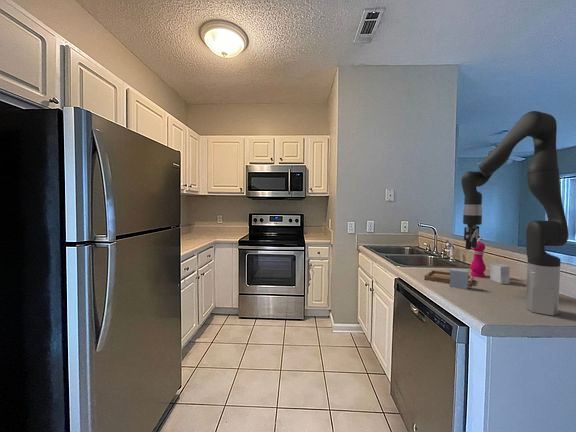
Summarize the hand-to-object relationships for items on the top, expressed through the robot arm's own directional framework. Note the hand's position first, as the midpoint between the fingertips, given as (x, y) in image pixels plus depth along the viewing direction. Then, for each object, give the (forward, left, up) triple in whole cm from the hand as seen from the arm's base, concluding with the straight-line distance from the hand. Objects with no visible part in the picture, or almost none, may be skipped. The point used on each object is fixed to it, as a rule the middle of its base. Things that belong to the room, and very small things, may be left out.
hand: (471, 248), depth 143 cm
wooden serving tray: (+8, +10, -18) cm, 22 cm away
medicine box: (+19, -11, -18) cm, 28 cm away
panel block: (-4, +4, -18) cm, 19 cm away
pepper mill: (+27, -1, -18) cm, 32 cm away
